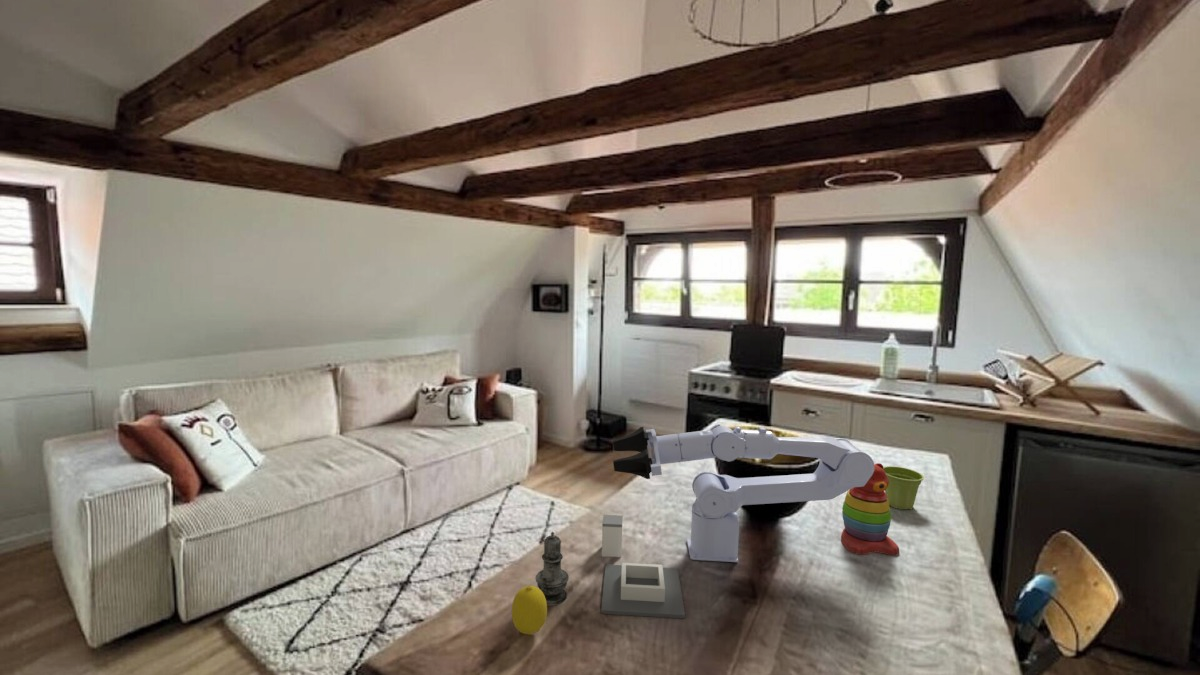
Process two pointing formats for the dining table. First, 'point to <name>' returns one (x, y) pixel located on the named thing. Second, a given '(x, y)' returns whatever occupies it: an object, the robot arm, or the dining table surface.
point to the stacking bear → (868, 517)
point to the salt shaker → (552, 572)
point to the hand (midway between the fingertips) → (613, 455)
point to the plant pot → (902, 486)
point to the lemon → (529, 610)
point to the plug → (612, 536)
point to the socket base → (642, 591)
